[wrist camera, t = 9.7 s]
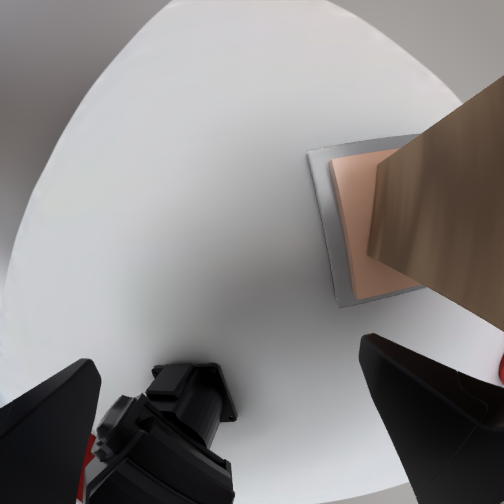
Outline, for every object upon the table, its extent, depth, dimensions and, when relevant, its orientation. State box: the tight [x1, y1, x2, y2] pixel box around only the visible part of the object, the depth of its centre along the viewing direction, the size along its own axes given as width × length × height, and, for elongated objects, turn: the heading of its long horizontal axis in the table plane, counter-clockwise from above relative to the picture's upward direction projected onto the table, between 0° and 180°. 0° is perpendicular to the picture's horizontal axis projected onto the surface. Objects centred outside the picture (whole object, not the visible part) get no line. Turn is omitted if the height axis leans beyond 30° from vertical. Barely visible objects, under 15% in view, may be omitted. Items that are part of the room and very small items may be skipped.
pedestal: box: [307, 134, 426, 308], centre depth 15 cm, size 10×10×4 cm
